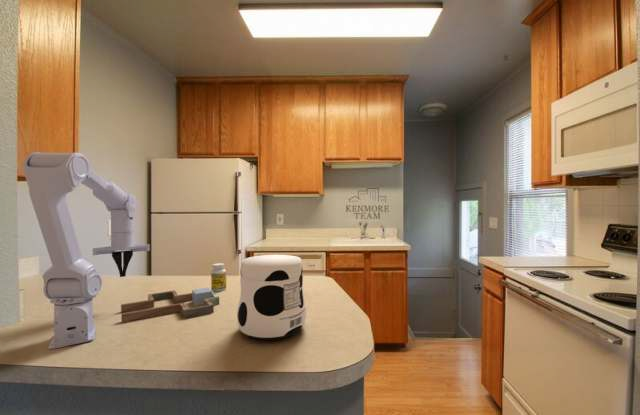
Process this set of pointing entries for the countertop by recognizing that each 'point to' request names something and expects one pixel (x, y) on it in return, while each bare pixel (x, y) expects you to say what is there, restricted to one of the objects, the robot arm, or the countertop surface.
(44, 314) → the countertop surface
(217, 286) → the supplement bottle
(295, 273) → the milk container
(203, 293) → the block
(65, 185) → the robot arm
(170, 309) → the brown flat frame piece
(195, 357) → the countertop surface
